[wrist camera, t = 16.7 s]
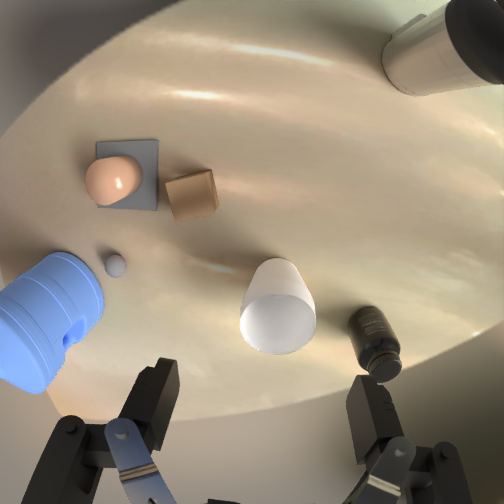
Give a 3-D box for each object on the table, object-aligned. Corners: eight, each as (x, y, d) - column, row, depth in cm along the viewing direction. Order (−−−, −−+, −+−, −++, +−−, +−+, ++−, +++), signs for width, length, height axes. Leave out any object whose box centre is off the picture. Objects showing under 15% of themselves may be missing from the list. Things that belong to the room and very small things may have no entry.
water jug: (32, 262, 46) (-63, 339, 20) (80, 238, 43) (-40, 331, 17) (68, 328, 51) (-5, 420, 25) (120, 316, 48) (41, 434, 23)
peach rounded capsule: (108, 154, 37) (85, 158, 32) (143, 155, 37) (123, 159, 31) (107, 194, 39) (85, 203, 34) (142, 197, 39) (122, 207, 34)
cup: (236, 262, 43) (225, 307, 32) (295, 240, 41) (304, 280, 30) (260, 311, 46) (256, 363, 35) (314, 292, 44) (326, 342, 33)
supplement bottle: (339, 334, 47) (354, 385, 36) (357, 301, 44) (378, 349, 33) (373, 341, 47) (392, 389, 36) (391, 310, 45) (417, 356, 34)
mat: (98, 142, 37) (96, 142, 37) (158, 140, 37) (156, 140, 36) (100, 206, 41) (98, 207, 40) (157, 209, 41) (156, 210, 40)
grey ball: (110, 250, 44) (99, 259, 40) (129, 252, 44) (119, 261, 40) (112, 270, 45) (102, 280, 42) (131, 272, 45) (121, 283, 42)
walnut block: (177, 177, 39) (165, 183, 34) (211, 169, 38) (203, 174, 34) (185, 211, 41) (174, 221, 36) (219, 205, 40) (212, 214, 35)
